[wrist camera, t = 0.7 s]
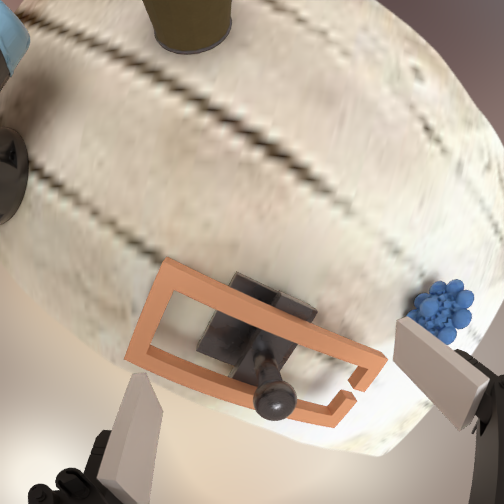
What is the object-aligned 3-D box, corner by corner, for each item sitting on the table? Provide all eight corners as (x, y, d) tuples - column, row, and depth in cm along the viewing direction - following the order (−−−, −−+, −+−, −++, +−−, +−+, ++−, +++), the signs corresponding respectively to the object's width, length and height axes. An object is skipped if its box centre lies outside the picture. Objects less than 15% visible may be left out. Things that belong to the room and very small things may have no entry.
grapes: (419, 256, 38) (473, 277, 27) (441, 275, 40) (491, 298, 28) (380, 321, 40) (424, 359, 28) (405, 335, 41) (447, 371, 30)
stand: (192, 354, 38) (181, 444, 21) (241, 260, 36) (259, 319, 19) (267, 382, 40) (290, 468, 24) (320, 298, 38) (380, 365, 22)
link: (128, 349, 29) (123, 359, 27) (166, 256, 27) (162, 261, 25) (329, 418, 34) (334, 428, 32) (381, 351, 32) (388, 359, 30)
